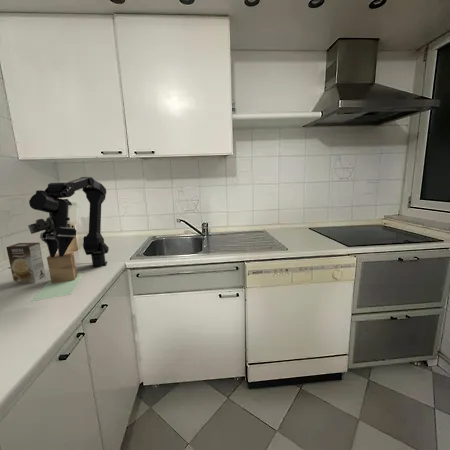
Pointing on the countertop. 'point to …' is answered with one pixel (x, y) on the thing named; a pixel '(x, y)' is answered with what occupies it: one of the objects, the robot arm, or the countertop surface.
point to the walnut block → (62, 267)
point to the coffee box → (26, 262)
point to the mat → (57, 289)
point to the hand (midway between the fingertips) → (56, 257)
